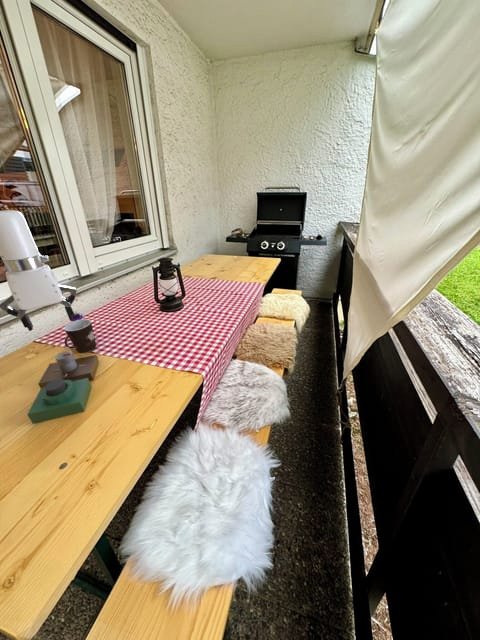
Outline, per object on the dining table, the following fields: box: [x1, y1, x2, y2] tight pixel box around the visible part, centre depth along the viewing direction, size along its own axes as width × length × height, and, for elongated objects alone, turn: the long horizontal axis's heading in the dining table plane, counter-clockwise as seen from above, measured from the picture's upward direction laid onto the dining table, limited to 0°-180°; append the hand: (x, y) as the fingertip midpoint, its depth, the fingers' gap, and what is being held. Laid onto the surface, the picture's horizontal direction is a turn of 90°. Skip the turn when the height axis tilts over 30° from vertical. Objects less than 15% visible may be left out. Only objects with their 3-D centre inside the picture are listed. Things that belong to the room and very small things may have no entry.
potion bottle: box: [69, 310, 84, 330], centre depth 99 cm, size 9×9×12 cm
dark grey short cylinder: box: [45, 379, 67, 396], centre depth 69 cm, size 4×4×2 cm
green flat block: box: [27, 378, 93, 425], centre depth 70 cm, size 12×10×6 cm
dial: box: [54, 350, 77, 373], centre depth 80 cm, size 4×4×5 cm
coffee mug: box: [63, 318, 97, 354], centre depth 93 cm, size 12×9×10 cm
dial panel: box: [38, 354, 100, 389], centre depth 82 cm, size 14×10×3 cm
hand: (51, 323), depth 73 cm, fingers open, 9 cm apart
